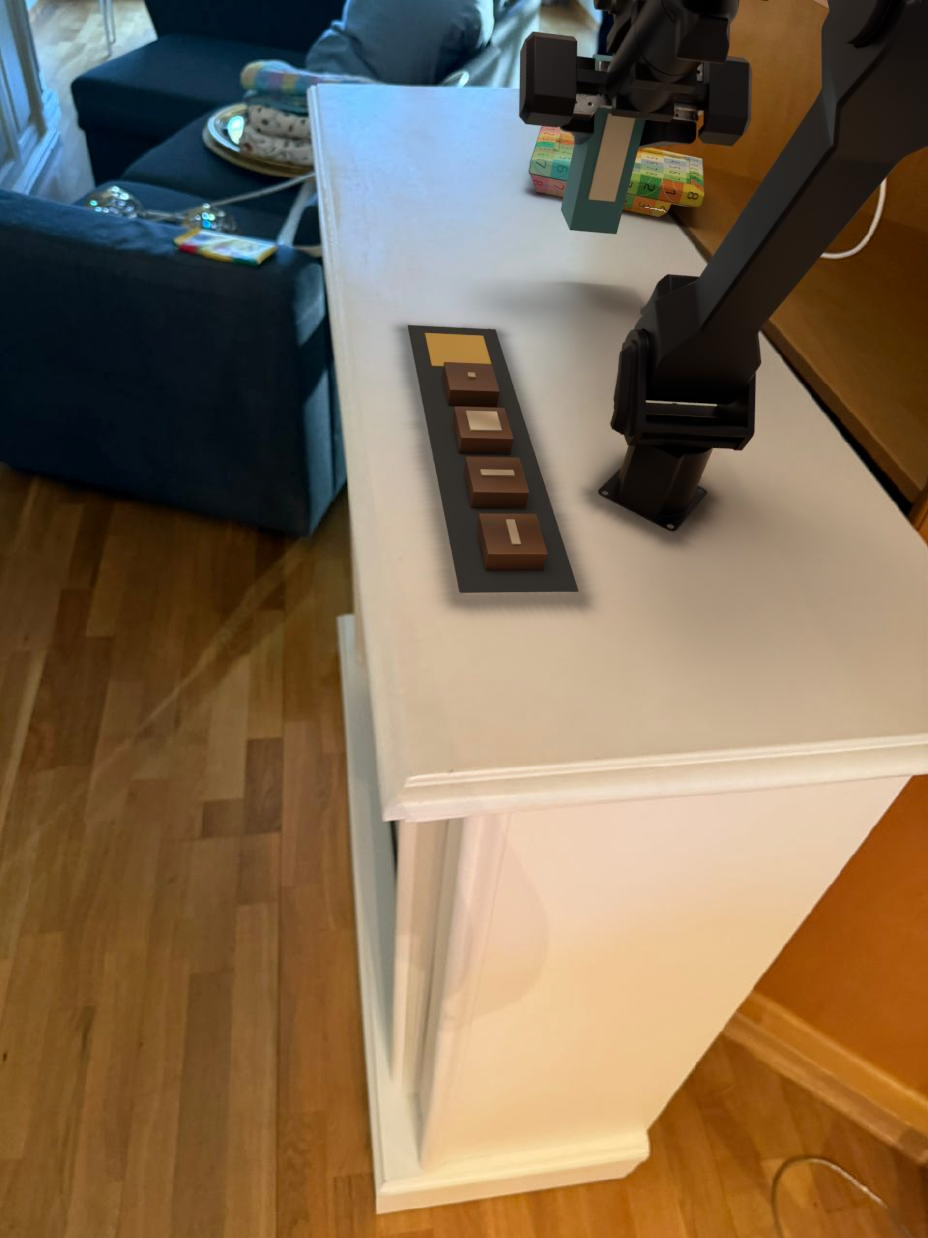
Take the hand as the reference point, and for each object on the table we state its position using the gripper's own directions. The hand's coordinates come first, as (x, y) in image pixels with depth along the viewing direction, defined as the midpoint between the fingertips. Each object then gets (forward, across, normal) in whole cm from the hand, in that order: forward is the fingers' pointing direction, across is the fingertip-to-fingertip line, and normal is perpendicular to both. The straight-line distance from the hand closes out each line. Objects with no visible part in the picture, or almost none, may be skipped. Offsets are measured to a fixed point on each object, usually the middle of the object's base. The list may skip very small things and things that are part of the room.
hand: (602, 141), depth 80 cm
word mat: (-9, +12, +29) cm, 33 cm away
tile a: (-18, +12, +37) cm, 43 cm away
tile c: (-10, +12, +28) cm, 33 cm away
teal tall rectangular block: (+4, 0, +6) cm, 7 cm away
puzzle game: (+27, -10, -8) cm, 30 cm away
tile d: (-5, +13, +24) cm, 28 cm away
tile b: (-14, +12, +33) cm, 38 cm away
